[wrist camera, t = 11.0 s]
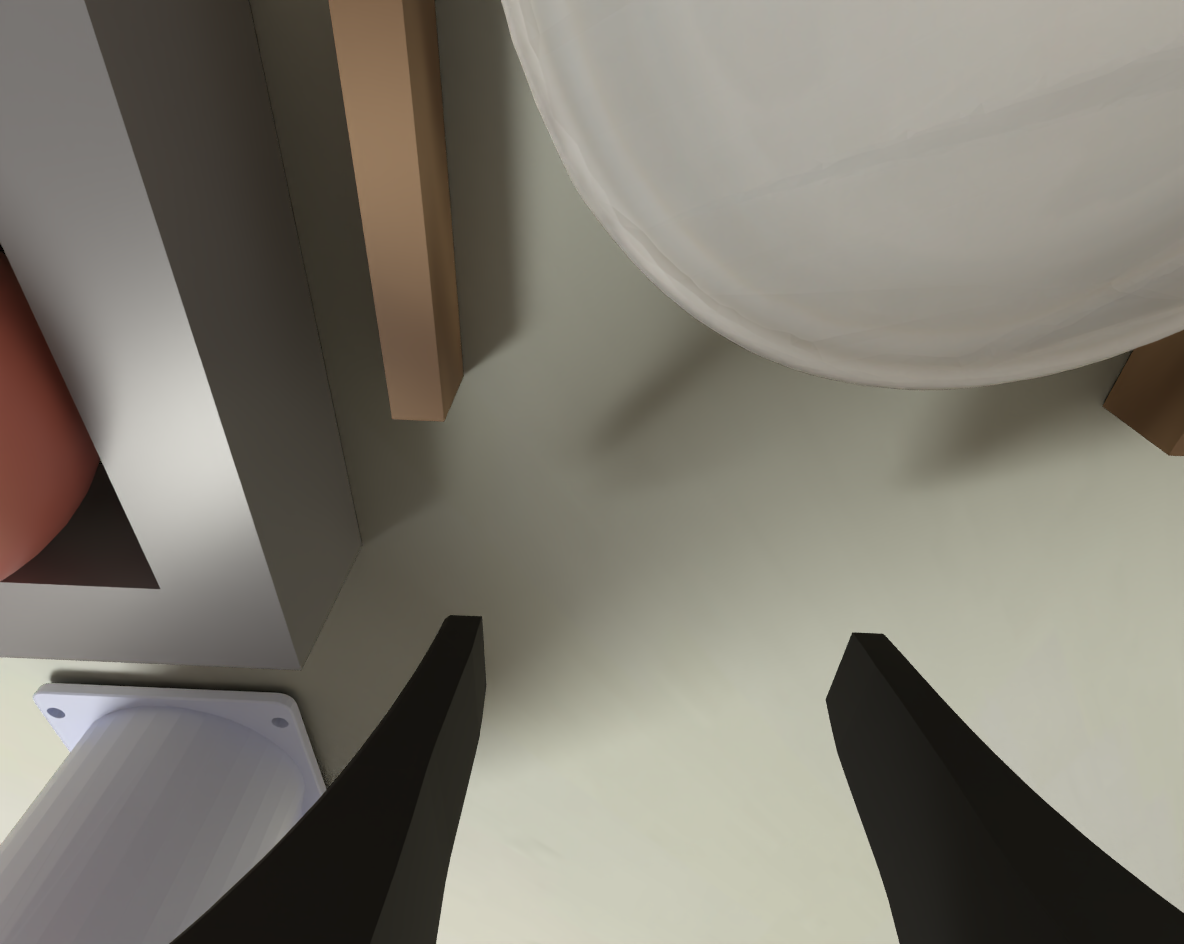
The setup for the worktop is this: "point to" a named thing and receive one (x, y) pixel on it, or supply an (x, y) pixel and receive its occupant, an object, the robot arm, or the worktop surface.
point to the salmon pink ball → (35, 435)
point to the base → (169, 341)
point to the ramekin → (883, 173)
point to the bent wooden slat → (425, 239)
